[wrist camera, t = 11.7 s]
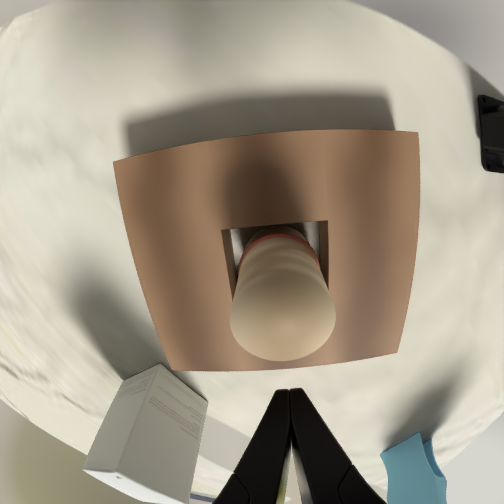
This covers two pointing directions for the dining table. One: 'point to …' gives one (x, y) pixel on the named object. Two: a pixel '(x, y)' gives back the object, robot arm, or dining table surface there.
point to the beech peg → (281, 297)
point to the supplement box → (150, 438)
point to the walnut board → (271, 213)
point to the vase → (414, 473)
